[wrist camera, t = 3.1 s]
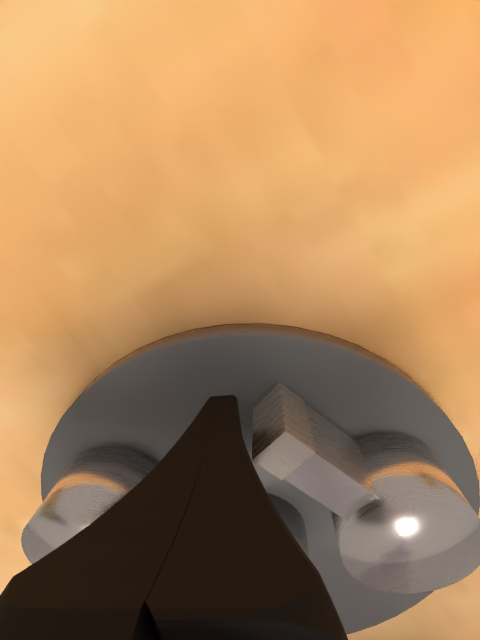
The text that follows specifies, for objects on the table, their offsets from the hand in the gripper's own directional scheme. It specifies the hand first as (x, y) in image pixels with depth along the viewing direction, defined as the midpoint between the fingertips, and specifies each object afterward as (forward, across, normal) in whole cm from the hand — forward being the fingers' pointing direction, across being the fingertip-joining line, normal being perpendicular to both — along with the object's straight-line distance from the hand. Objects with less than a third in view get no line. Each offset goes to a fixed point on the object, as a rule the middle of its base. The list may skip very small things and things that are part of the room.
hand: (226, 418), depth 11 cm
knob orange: (+1, +7, +5) cm, 9 cm away
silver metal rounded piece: (+1, -4, +3) cm, 5 cm away
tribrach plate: (+2, 0, +7) cm, 8 cm away
